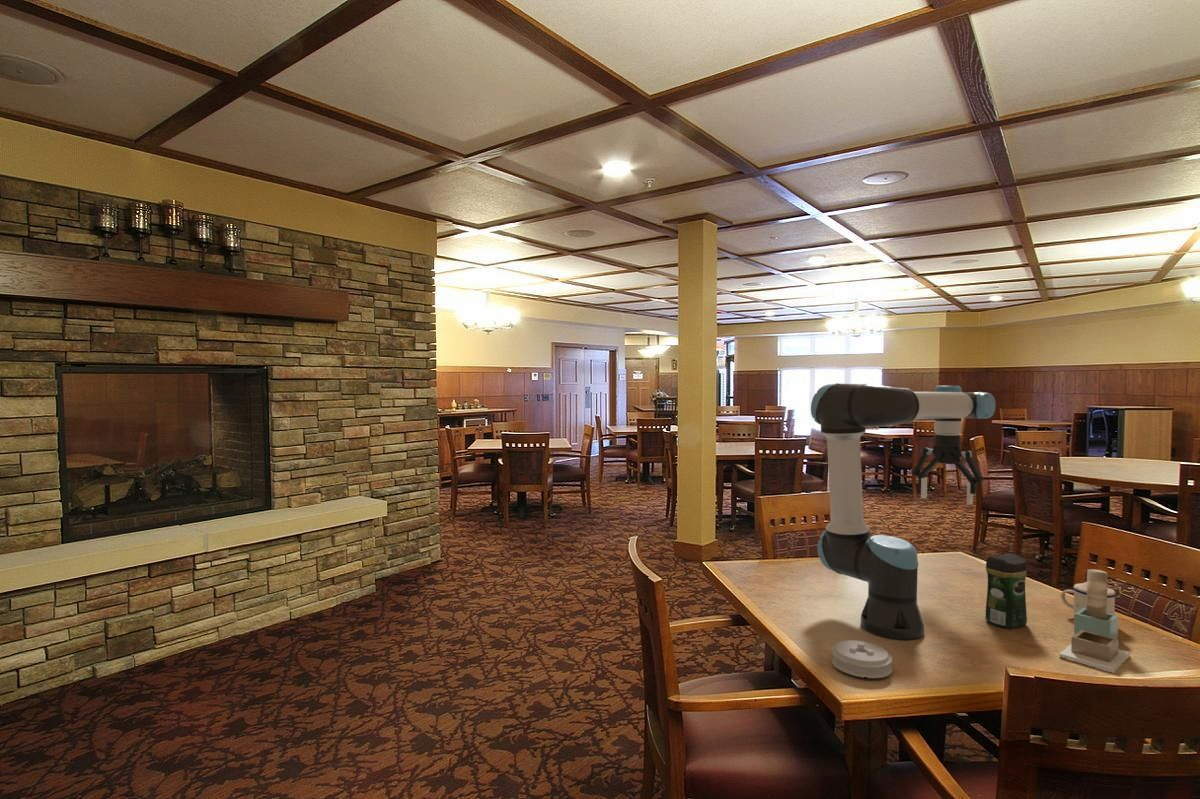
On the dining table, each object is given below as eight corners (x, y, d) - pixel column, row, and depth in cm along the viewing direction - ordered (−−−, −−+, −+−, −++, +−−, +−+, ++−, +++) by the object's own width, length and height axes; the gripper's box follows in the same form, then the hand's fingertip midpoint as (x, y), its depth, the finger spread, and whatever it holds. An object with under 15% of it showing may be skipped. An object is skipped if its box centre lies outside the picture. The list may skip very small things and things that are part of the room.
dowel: (1103, 642, 154) (1105, 575, 154) (1083, 637, 158) (1085, 571, 157) (1108, 638, 157) (1109, 572, 156) (1088, 633, 160) (1089, 568, 160)
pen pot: (1109, 646, 152) (1110, 622, 152) (1074, 637, 158) (1074, 613, 158) (1117, 639, 157) (1118, 615, 156) (1082, 630, 162) (1083, 607, 162)
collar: (1109, 662, 141) (1110, 647, 141) (1071, 651, 147) (1071, 637, 147) (1118, 654, 146) (1118, 639, 145) (1080, 643, 151) (1080, 629, 151)
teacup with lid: (1120, 623, 167) (1121, 580, 167) (1108, 631, 162) (1109, 587, 161) (1067, 610, 177) (1067, 569, 176) (1054, 617, 171) (1055, 575, 171)
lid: (870, 655, 148) (870, 634, 147) (904, 680, 135) (904, 657, 135) (821, 658, 146) (821, 637, 146) (850, 684, 133) (850, 661, 133)
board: (1113, 673, 138) (1113, 668, 138) (1059, 657, 146) (1059, 653, 146) (1129, 656, 147) (1129, 652, 147) (1077, 642, 154) (1077, 638, 154)
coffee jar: (1002, 615, 173) (1004, 549, 172) (1032, 625, 165) (1033, 556, 165) (979, 620, 169) (980, 553, 168) (1007, 631, 162) (1009, 560, 161)
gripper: (996, 436, 189) (994, 505, 189) (912, 431, 208) (911, 494, 208) (987, 437, 184) (985, 508, 184) (902, 432, 203) (901, 496, 204)
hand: (946, 501), depth 196 cm, fingers open, 13 cm apart
